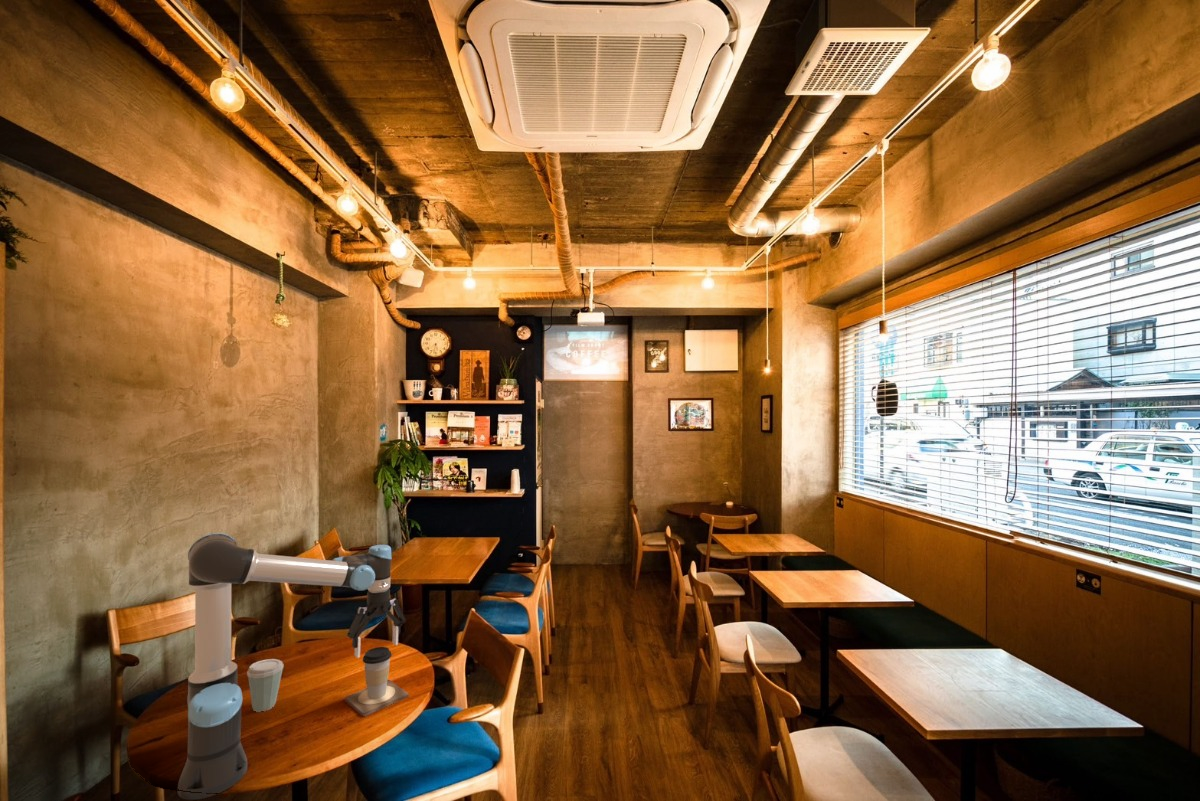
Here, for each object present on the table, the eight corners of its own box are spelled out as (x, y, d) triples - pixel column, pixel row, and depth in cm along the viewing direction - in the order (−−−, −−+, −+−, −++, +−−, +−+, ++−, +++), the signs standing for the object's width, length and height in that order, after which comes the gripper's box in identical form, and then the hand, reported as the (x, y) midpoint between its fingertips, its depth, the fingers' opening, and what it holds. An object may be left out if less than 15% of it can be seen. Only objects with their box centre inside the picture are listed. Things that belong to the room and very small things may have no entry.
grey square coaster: (363, 717, 166) (363, 712, 166) (344, 700, 176) (344, 696, 176) (408, 697, 178) (408, 692, 178) (388, 682, 188) (388, 678, 188)
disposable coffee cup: (273, 695, 179) (274, 653, 180) (289, 704, 173) (290, 660, 174) (239, 710, 170) (241, 665, 171) (255, 720, 164) (256, 673, 165)
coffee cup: (380, 703, 171) (380, 659, 172) (356, 700, 173) (356, 656, 174) (396, 689, 181) (397, 647, 181) (373, 686, 183) (374, 644, 183)
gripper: (347, 600, 167) (344, 665, 166) (416, 583, 186) (414, 642, 184) (338, 595, 172) (335, 658, 171) (406, 579, 191) (404, 636, 189)
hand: (376, 650), depth 177 cm, fingers open, 13 cm apart
